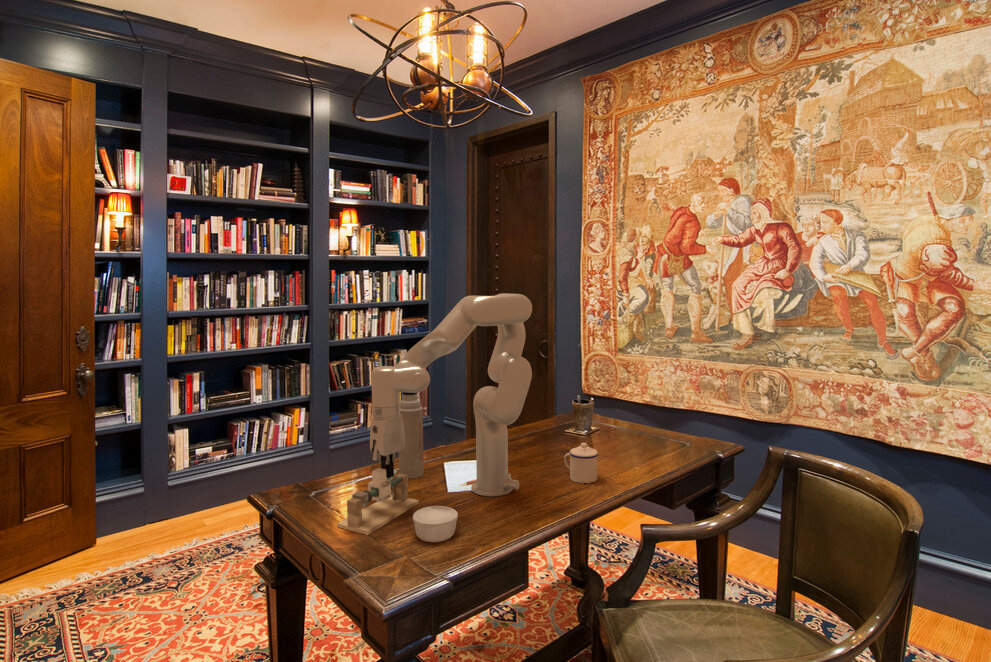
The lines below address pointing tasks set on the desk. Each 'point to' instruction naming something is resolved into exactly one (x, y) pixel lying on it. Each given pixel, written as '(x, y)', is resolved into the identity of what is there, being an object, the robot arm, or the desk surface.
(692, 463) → the desk surface
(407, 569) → the desk surface
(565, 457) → the teacup with lid
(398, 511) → the wooden toy assembly
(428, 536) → the ramekin
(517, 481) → the robot arm
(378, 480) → the marker sleeve
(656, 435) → the desk surface
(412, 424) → the thermos bottle
